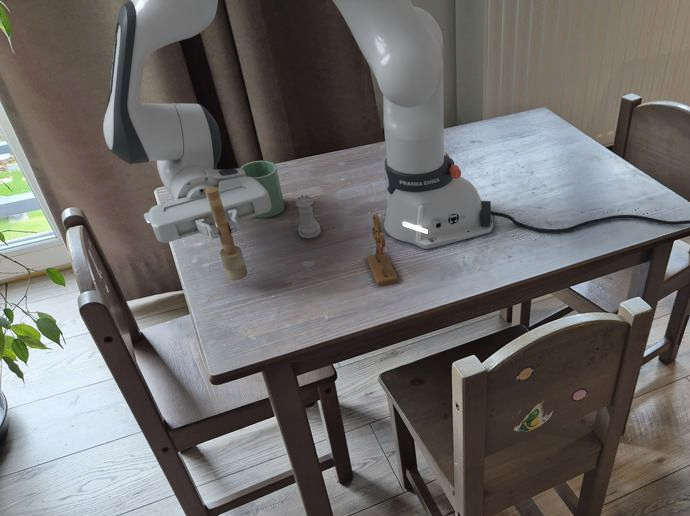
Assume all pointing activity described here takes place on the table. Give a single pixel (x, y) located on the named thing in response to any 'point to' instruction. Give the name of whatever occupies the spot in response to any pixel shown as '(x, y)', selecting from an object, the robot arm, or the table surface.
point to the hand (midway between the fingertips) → (225, 231)
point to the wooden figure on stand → (380, 258)
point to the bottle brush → (226, 238)
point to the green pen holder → (267, 183)
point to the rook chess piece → (307, 218)
